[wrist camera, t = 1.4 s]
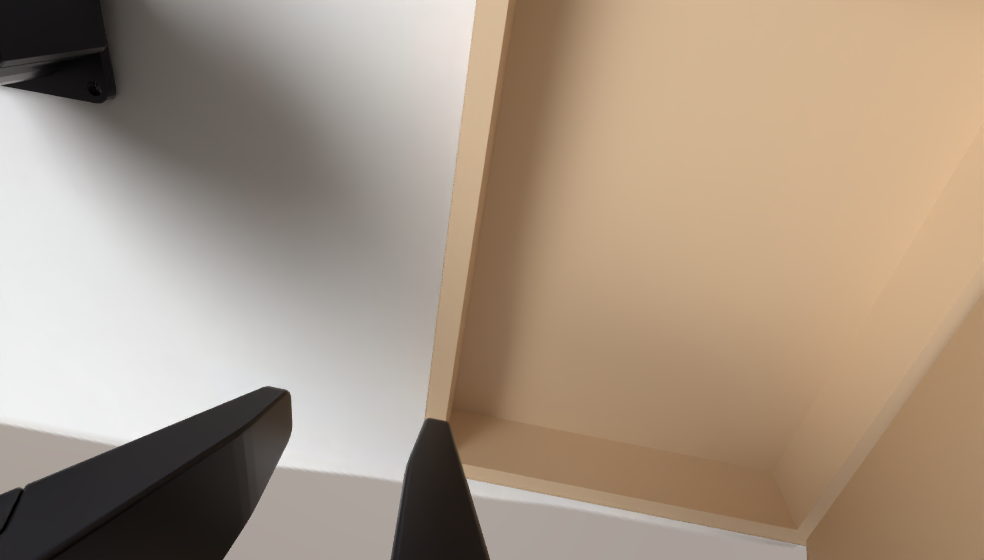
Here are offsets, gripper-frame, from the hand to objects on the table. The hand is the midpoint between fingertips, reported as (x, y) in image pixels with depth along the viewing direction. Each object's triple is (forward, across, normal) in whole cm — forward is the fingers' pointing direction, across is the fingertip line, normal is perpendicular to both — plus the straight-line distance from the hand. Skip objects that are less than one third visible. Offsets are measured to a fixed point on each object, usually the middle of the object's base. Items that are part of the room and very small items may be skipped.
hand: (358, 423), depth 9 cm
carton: (+12, +8, 0) cm, 14 cm away
